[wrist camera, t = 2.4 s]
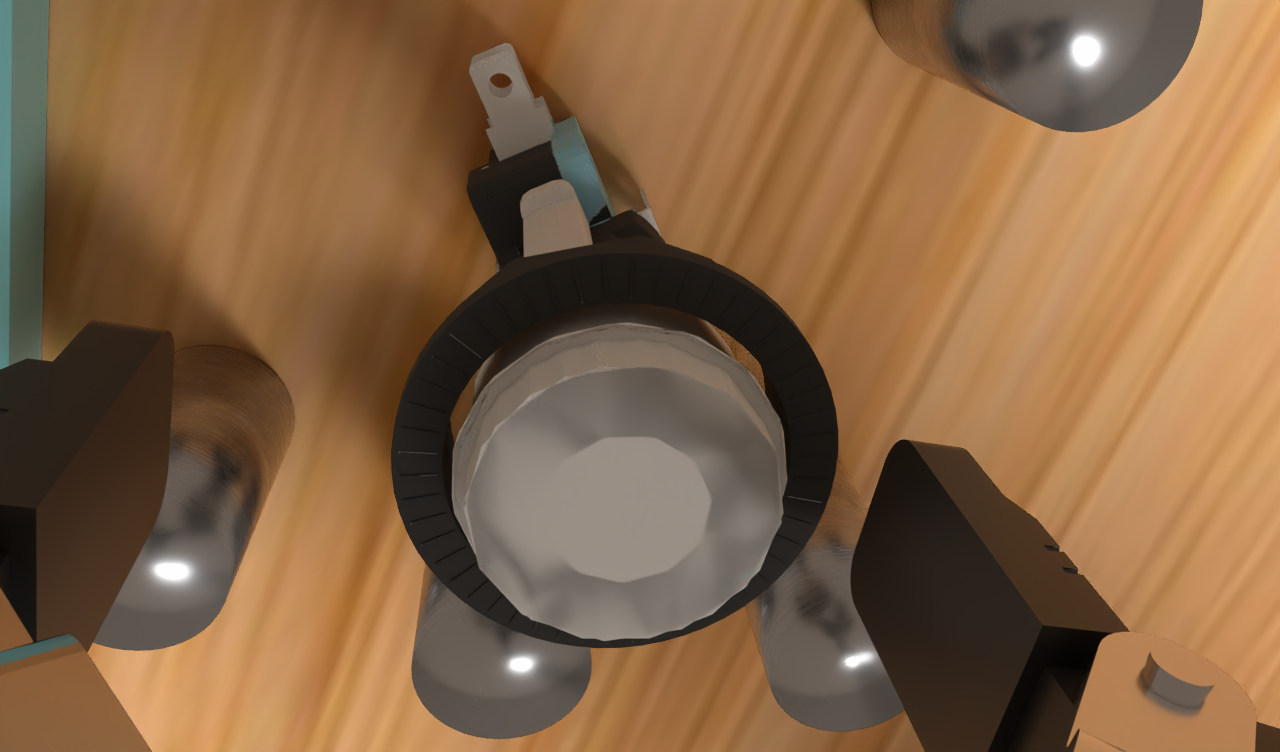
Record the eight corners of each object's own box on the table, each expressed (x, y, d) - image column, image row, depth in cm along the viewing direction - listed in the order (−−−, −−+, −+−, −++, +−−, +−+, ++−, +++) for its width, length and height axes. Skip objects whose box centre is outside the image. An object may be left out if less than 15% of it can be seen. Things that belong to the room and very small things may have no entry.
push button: (358, 100, 20) (221, 288, 11) (632, -16, 19) (733, 76, 10) (510, 404, 22) (504, 759, 13) (752, 308, 22) (915, 604, 13)
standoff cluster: (1056, -80, 20) (1239, -67, 15) (815, 603, 25) (888, 781, 20) (181, -318, 17) (40, -401, 12) (131, 509, 23) (22, 688, 18)
